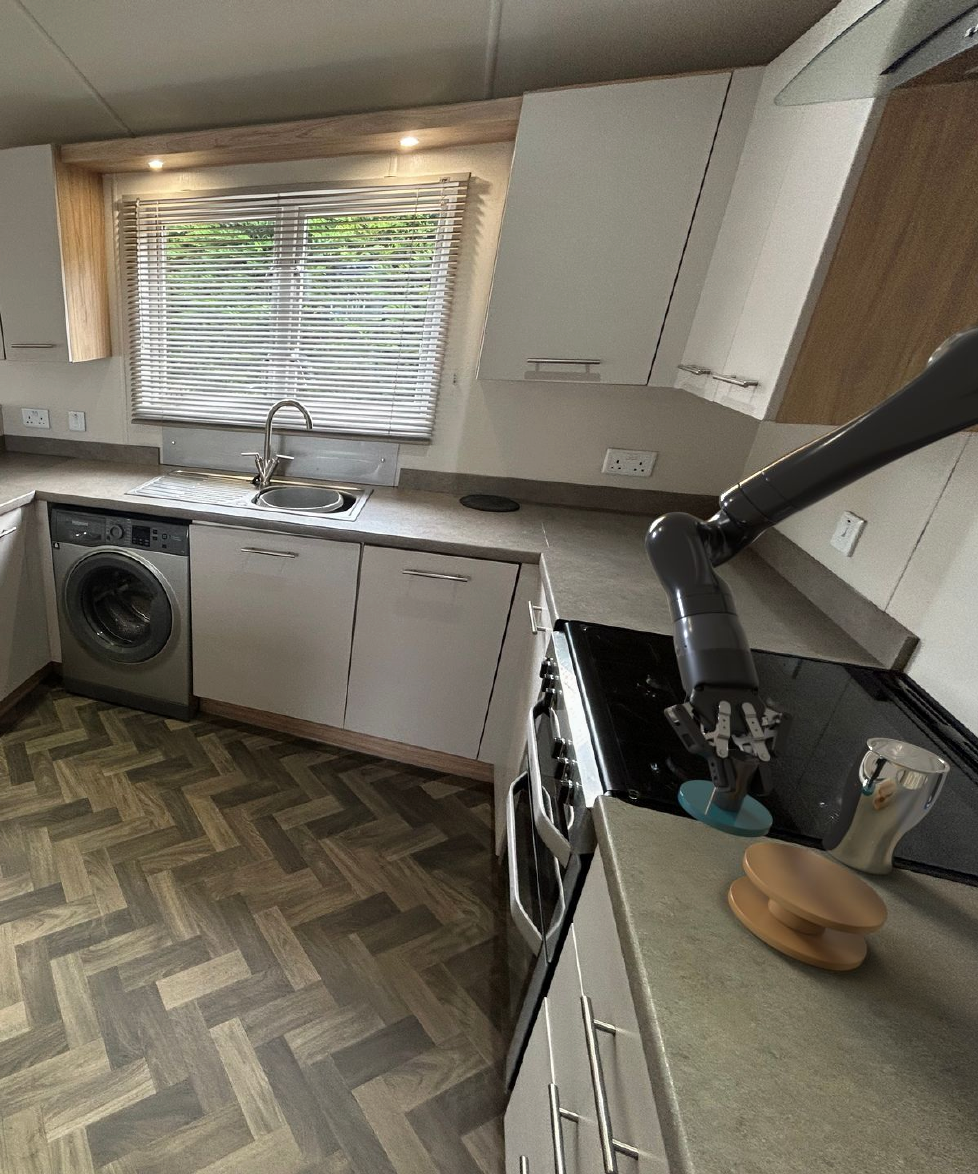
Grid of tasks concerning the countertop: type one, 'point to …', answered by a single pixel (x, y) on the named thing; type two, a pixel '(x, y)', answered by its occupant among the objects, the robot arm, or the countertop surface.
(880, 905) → the stand
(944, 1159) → the countertop surface
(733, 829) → the disc
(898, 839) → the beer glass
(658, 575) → the robot arm
